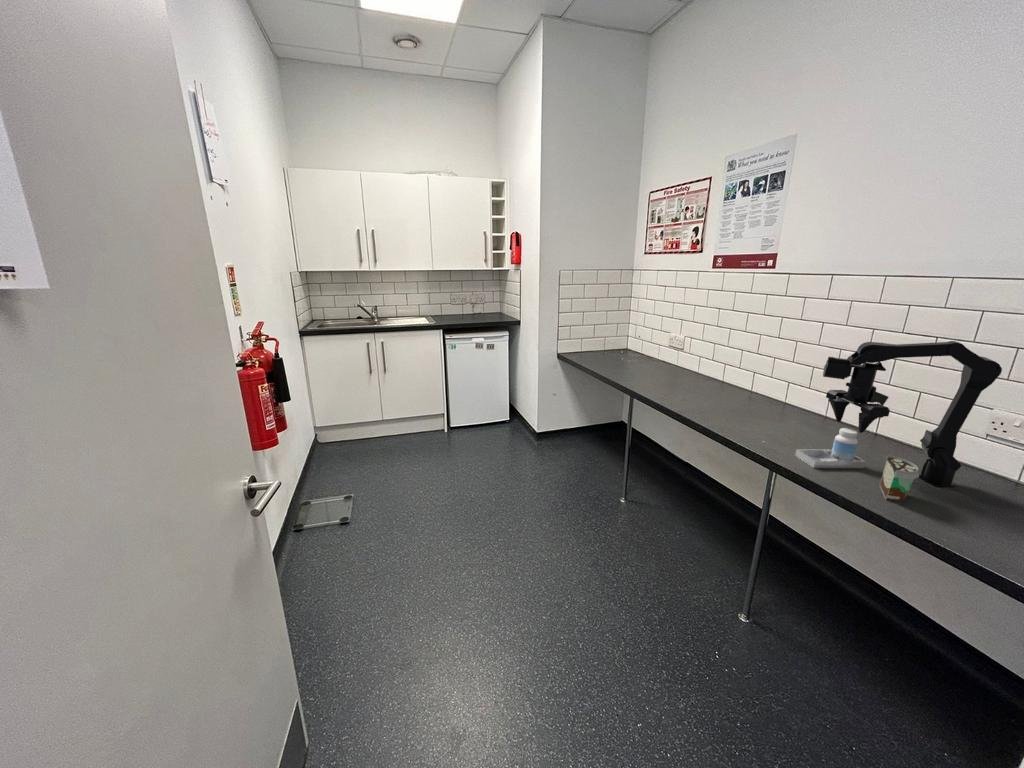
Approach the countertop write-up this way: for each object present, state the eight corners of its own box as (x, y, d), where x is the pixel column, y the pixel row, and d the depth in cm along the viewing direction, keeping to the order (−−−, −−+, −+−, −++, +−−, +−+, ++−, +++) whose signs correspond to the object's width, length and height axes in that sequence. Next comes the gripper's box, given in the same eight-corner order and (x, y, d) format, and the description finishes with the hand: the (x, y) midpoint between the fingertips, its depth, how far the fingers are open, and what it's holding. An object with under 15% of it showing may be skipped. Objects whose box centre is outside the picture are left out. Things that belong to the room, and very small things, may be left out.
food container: (915, 509, 114) (926, 476, 112) (886, 502, 118) (896, 470, 115) (905, 489, 124) (914, 459, 122) (878, 483, 128) (887, 454, 125)
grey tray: (863, 468, 137) (865, 461, 136) (813, 468, 136) (815, 461, 136) (842, 455, 146) (844, 449, 145) (795, 455, 145) (796, 449, 144)
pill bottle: (856, 466, 138) (864, 435, 134) (835, 464, 139) (843, 433, 135) (845, 458, 143) (853, 427, 140) (826, 456, 144) (833, 426, 141)
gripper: (913, 390, 124) (898, 438, 129) (862, 374, 142) (850, 416, 147) (877, 390, 124) (863, 438, 128) (830, 373, 142) (819, 416, 146)
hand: (849, 426), depth 137 cm, fingers open, 9 cm apart
